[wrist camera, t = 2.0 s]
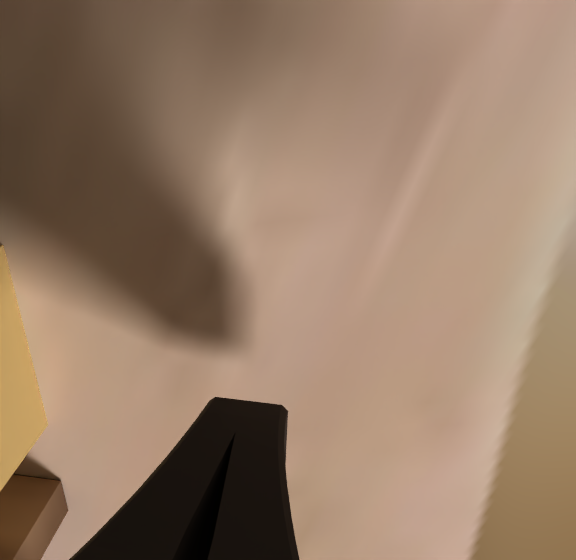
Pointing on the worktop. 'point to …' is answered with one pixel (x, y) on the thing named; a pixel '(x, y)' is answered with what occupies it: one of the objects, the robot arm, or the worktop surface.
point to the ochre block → (16, 383)
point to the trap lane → (29, 516)
